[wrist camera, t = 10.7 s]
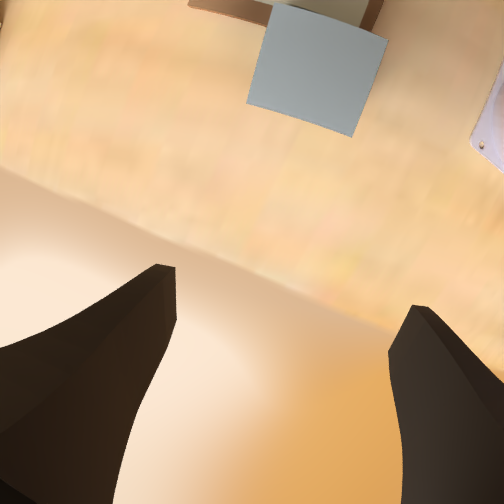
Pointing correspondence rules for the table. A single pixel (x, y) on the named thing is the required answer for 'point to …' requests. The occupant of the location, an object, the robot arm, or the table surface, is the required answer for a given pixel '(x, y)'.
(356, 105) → the cube
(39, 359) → the robot arm
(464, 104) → the table surface
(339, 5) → the tower top
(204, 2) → the tower base
